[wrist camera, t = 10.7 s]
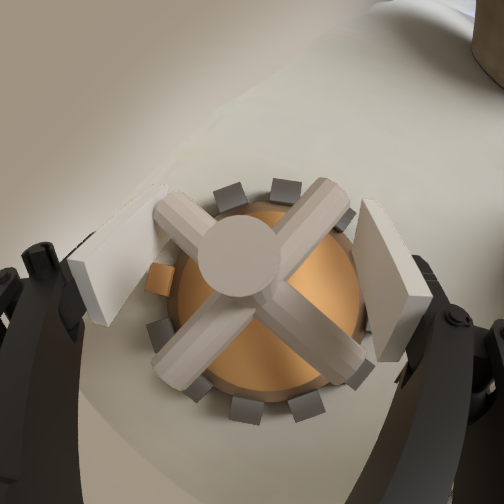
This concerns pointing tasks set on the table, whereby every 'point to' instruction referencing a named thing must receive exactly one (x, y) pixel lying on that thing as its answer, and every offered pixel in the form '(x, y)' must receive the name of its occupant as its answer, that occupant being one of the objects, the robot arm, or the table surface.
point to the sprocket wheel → (255, 333)
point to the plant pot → (490, 38)
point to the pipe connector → (255, 284)
